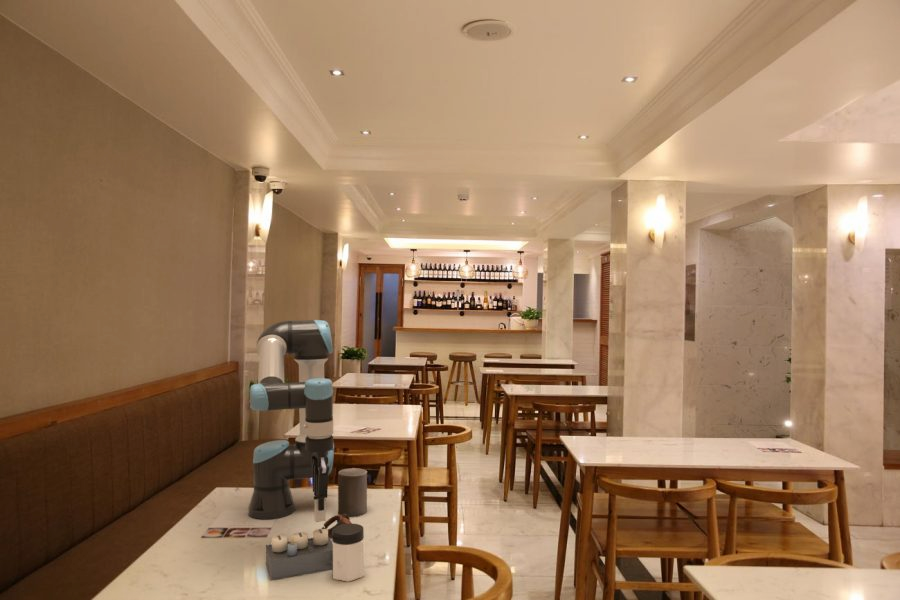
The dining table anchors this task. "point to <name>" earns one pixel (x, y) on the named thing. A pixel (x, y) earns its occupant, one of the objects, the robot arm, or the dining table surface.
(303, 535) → the knob middle
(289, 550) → the potentiometer
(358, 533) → the jar
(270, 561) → the panel
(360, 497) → the pillar candle
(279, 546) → the knob left
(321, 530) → the knob right
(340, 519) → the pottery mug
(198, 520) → the dining table surface
